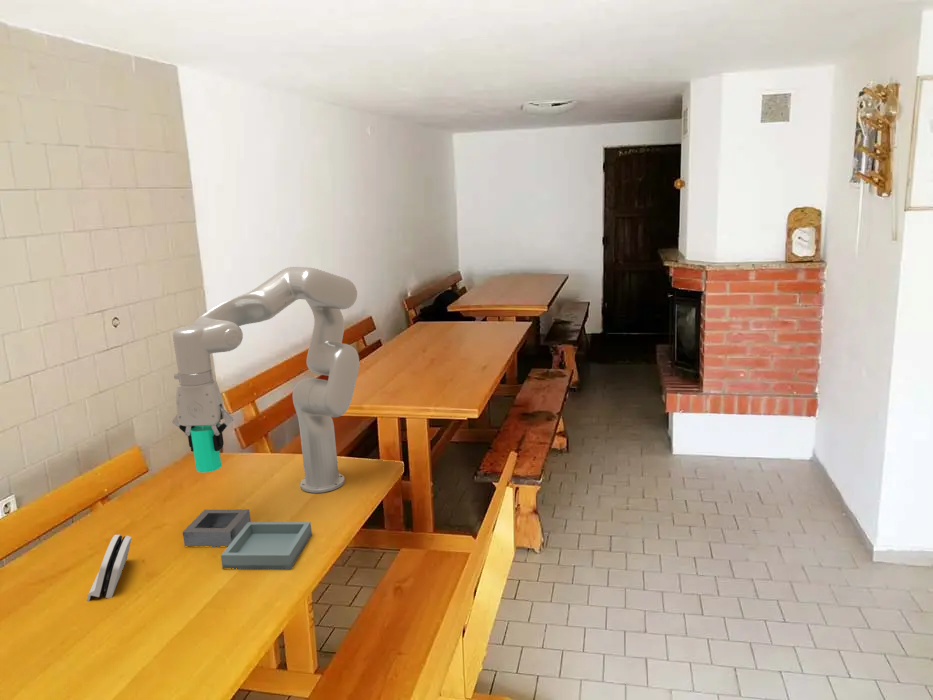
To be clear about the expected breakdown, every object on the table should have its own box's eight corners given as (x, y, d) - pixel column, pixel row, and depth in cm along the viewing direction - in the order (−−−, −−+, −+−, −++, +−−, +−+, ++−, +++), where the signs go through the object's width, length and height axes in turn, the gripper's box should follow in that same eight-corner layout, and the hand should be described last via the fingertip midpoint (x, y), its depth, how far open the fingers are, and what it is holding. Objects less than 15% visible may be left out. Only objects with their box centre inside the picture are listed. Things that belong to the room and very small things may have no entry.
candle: (201, 474, 171) (194, 427, 168) (192, 467, 176) (185, 421, 173) (225, 467, 175) (219, 420, 172) (216, 460, 179) (209, 415, 176)
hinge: (103, 563, 168) (112, 524, 167) (125, 566, 170) (134, 527, 168) (86, 602, 152) (95, 559, 151) (109, 605, 154) (119, 562, 152)
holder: (206, 523, 186) (204, 509, 185) (251, 523, 184) (249, 509, 183) (184, 547, 174) (182, 532, 173) (232, 547, 173) (230, 532, 172)
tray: (249, 534, 178) (247, 522, 178) (311, 534, 177) (310, 521, 176) (222, 569, 163) (220, 555, 162) (290, 569, 161) (289, 555, 161)
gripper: (154, 383, 167) (166, 455, 171) (224, 381, 165) (234, 454, 169) (169, 374, 174) (181, 444, 178) (237, 372, 172) (247, 443, 177)
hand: (207, 448), depth 174 cm, fingers closed on candle, 5 cm apart
